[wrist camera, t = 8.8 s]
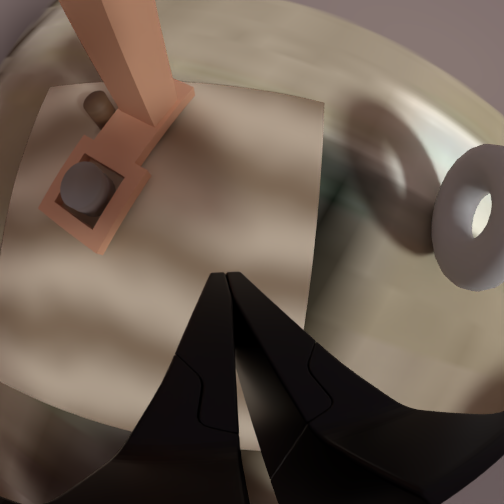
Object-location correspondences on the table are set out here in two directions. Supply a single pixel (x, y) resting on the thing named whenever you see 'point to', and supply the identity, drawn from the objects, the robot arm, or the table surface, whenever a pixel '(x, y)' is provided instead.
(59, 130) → the board
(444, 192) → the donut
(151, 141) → the pink l-shaped piece
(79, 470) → the table surface
